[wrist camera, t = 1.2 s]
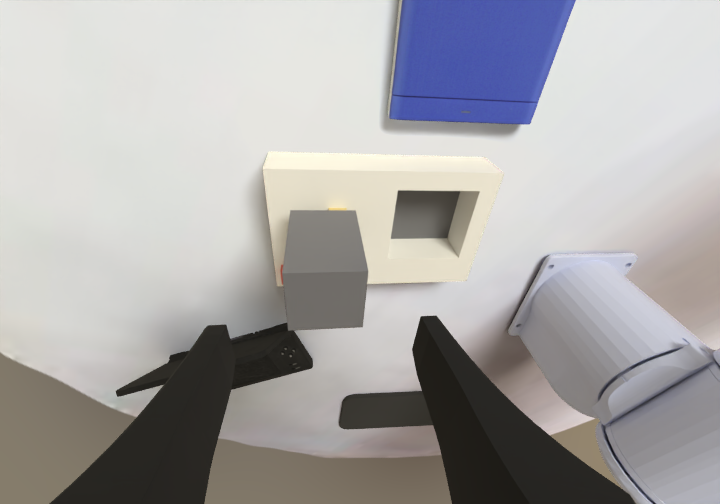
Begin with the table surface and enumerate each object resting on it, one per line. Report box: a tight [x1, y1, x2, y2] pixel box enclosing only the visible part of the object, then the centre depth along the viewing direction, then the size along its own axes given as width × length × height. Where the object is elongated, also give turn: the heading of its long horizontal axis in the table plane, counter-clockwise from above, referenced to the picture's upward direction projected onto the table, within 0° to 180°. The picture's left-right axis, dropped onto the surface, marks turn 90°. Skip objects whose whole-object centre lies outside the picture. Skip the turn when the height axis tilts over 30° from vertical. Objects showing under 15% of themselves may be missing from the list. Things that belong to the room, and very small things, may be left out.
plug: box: [282, 208, 368, 331], centre depth 16 cm, size 3×3×6 cm
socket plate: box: [263, 152, 504, 287], centre depth 20 cm, size 8×13×3 cm, turn 87°
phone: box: [340, 391, 433, 429], centre depth 37 cm, size 7×1×15 cm
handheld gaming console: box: [116, 323, 313, 397], centre depth 26 cm, size 12×7×10 cm
